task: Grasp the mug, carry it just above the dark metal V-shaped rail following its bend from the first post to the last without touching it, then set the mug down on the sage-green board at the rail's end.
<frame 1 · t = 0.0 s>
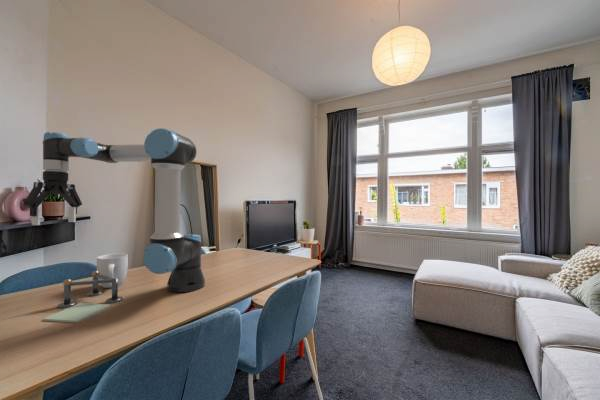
hand: (55, 223, 102), 28 cm above the table, fingers open, 13 cm apart
pad: (78, 313, 83), on the table
mug: (112, 286, 109), on the table
small metal rack: (98, 299, 95), on the table
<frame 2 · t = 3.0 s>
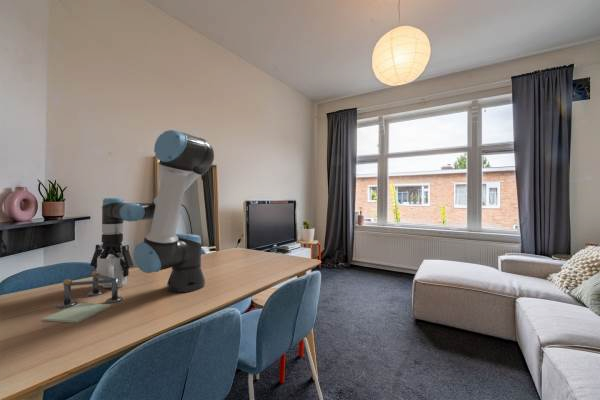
hand: (111, 283, 110), 1 cm above the table, fingers closed on mug, 11 cm apart
mug: (112, 286, 109), on the table, touching gripper
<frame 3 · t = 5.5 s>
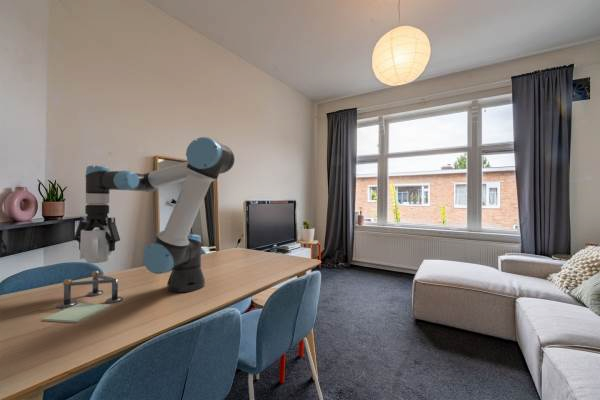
hand: (96, 258, 101), 14 cm above the table, fingers closed on mug, 11 cm apart
mug: (97, 262, 101), point 13 cm above the table, touching gripper
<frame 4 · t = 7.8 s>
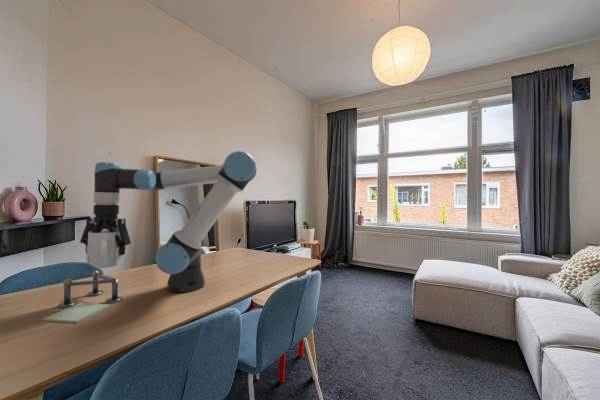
hand: (104, 263, 93), 14 cm above the table, fingers closed on mug, 11 cm apart
mug: (106, 267, 93), point 13 cm above the table, touching gripper
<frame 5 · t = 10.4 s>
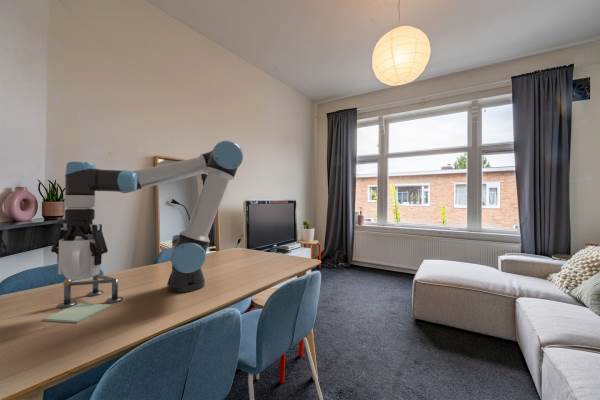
hand: (79, 274, 83), 13 cm above the table, fingers closed on mug, 11 cm apart
mug: (80, 278, 83), point 12 cm above the table, touching gripper
when the fingers open (3 cm above the table, at t = 12.7 s): mug drops 1 cm, resting on pad.
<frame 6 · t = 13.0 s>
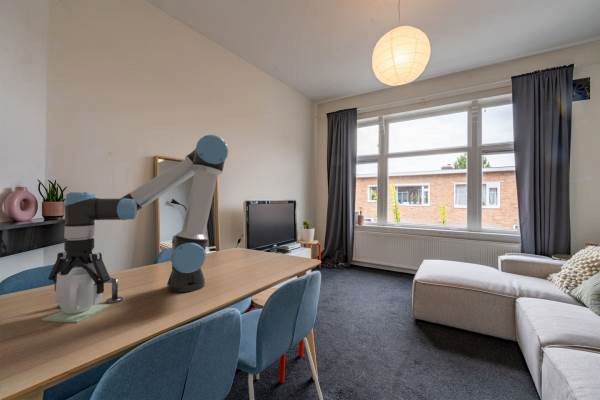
hand: (79, 302, 83), 4 cm above the table, fingers open, 13 cm apart
mug: (77, 311, 83), resting on pad, touching gripper
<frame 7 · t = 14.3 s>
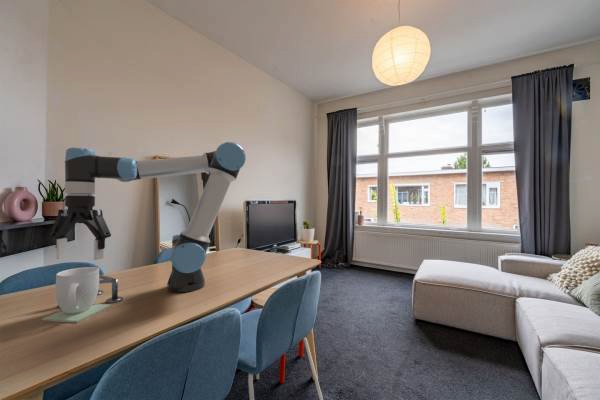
hand: (80, 258, 84), 18 cm above the table, fingers open, 13 cm apart
mug: (77, 311, 83), resting on pad
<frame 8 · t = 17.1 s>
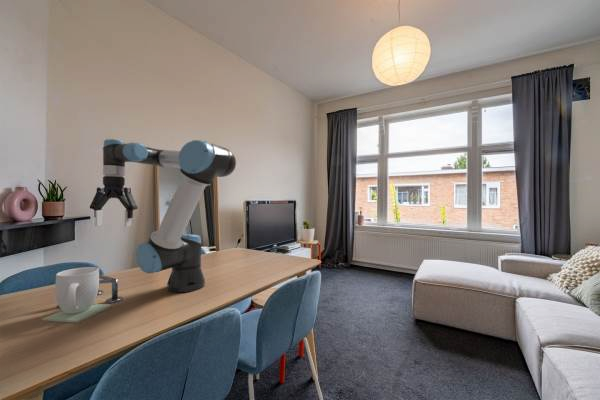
hand: (113, 225, 107), 27 cm above the table, fingers open, 13 cm apart
nothing on the table moved.
at the end: mug inside the target area on the pad (0.6 cm from its centre), point 0.4 cm above the pad's base; mug tilted 0°; mug touching pad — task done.
